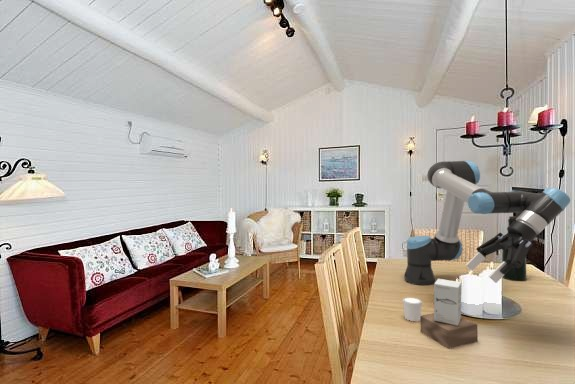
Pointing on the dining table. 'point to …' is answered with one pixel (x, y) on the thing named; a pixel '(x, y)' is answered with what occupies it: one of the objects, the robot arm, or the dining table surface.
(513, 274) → the dark green bottle
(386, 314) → the dining table surface
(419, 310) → the white cylinder
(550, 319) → the dining table surface
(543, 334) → the dining table surface
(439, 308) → the supplement box
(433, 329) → the walnut block
